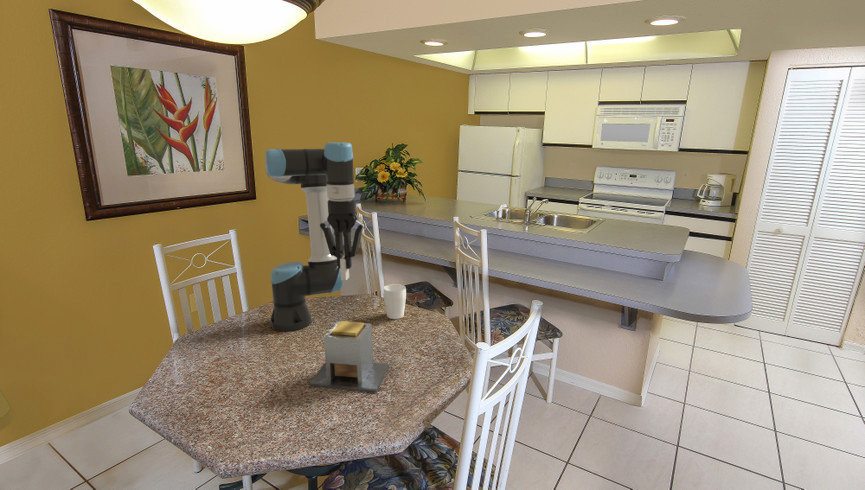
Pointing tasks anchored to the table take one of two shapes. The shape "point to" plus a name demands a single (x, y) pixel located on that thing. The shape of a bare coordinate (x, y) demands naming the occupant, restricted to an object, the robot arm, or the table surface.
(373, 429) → the table surface
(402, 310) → the cup
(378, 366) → the chute
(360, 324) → the block
